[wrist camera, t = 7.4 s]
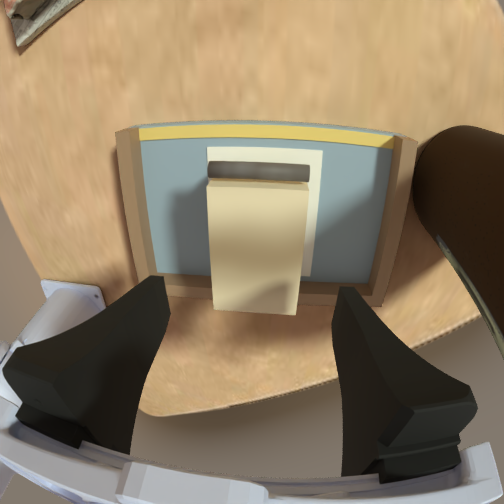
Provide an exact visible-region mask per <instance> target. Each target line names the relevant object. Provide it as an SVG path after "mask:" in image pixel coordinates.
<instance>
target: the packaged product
mask: <svg viewBox="0 0 504 504" xmlns="http://www.w3.org/2000/svg"><path fill="white" fill-rule="evenodd" d="M80 1H82V0H4V5H5V10H6V13H7V16H8V17H9V18H10V19H11V23H12V26H13V32H14V34H15V38H16V44H17V46H18V47H19V46H23V45H27V44H28V43H30V42H31V41H32V40H33V39H34V38H35V37H36V36H38V35H39V34H40V33H41V32H42V31H43V30H44V29H46V28H47V27H48V26H49V25H50V24H52V23H53V22H54V21H55V20H56V19H58V18H59V17H60V16H62V15H63V14H64V13H66V12H67V11H68V10H70V9H71V8H72V7H74V6H75V5H76V4H78V3H79V2H80Z"/></svg>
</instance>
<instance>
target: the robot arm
mask: <svg viewBox="0 0 504 504" xmlns="http://www.w3.org/2000/svg"><path fill="white" fill-rule="evenodd" d="M41 286H42V288H43V291H44V293H45V296H46V298H47V301H46V302H45V303H44V304H43V305H42V306H41V308H40V309H39V310H38V311H37V313H36V314H35V315H34V316H33V318H32V319H31V320H30V321H29V323H28V324H27V325H26V326H25V328H24V329H23V330H22V331H21V333H20V334H19V335H18V337H17V338H16V339H15V341H14V342H13V343H12V344H11V345H9V344H8V342H7V341H3V342H2V341H0V500H1V498H2V496H3V494H4V492H5V490H6V488H7V486H8V484H9V482H10V480H11V479H12V477H13V475H14V474H20V475H22V476H24V477H25V478H27V479H29V480H30V481H32V482H34V483H36V484H37V485H39V486H41V487H43V488H44V489H46V490H48V491H50V492H52V493H54V494H55V495H58V496H59V497H61V498H63V499H65V500H68V501H69V502H71V503H74V504H489V503H491V502H492V501H494V500H496V499H497V498H499V497H500V496H502V495H503V491H502V487H501V483H500V478H499V475H498V471H497V467H496V463H495V460H494V456H493V453H492V449H491V446H490V443H489V442H484V443H481V444H477V445H474V446H470V447H468V448H465V449H463V450H461V451H458V447H457V445H458V444H459V443H460V441H461V440H460V437H459V433H460V432H461V431H462V430H463V429H464V428H465V427H466V425H467V424H468V423H469V422H470V421H471V420H472V419H473V417H474V416H475V414H476V412H477V409H478V407H477V404H476V401H475V398H474V396H473V393H472V391H471V388H470V386H469V385H467V384H465V383H463V382H461V381H459V380H457V379H455V378H452V377H451V376H448V375H447V374H445V373H444V372H442V371H440V370H439V369H437V368H436V367H434V366H433V365H431V364H430V363H428V362H427V361H425V360H424V359H422V358H421V357H420V356H419V355H417V354H416V353H415V352H414V351H412V350H411V349H410V348H409V347H408V346H407V345H405V344H404V343H403V342H402V341H401V340H400V339H399V338H398V337H397V336H396V335H395V334H394V333H393V332H392V331H391V330H390V329H389V328H388V327H387V326H386V325H385V324H384V323H383V322H382V321H381V319H380V318H379V317H378V316H377V315H376V314H375V312H374V311H373V310H372V309H371V307H370V306H369V305H368V304H367V302H366V301H365V300H364V299H363V297H362V296H361V295H360V294H359V292H358V291H357V290H356V289H355V287H345V286H339V291H338V296H337V301H336V306H335V310H334V315H333V319H332V324H331V325H332V341H333V349H334V355H335V360H336V366H337V371H338V376H339V382H340V388H341V395H342V410H343V411H342V412H343V455H342V473H341V477H332V478H267V477H252V476H239V475H229V474H221V473H214V472H207V471H200V470H194V469H187V468H183V467H177V466H172V465H167V464H163V463H158V462H154V461H149V460H146V459H142V458H138V457H134V456H130V447H131V441H132V434H133V429H134V423H135V418H136V414H137V409H138V405H139V401H140V397H141V394H142V390H143V386H144V383H145V380H146V377H147V374H148V372H149V370H150V367H151V365H152V363H153V360H154V358H155V356H156V353H157V351H158V349H159V346H160V344H161V342H162V339H163V337H164V335H165V332H166V328H167V325H168V321H169V317H170V314H171V313H170V308H169V303H168V298H167V292H166V287H165V281H164V276H155V275H150V276H148V277H147V278H146V279H144V280H143V281H141V282H140V283H139V284H138V285H136V286H135V287H134V288H132V289H131V290H130V291H128V292H127V293H126V294H125V295H123V296H122V297H121V298H119V299H118V300H117V301H115V302H114V303H112V304H111V305H109V306H108V307H107V308H106V305H105V302H104V299H103V296H102V293H101V290H100V288H99V287H97V286H92V285H84V284H76V283H69V282H61V281H54V280H47V279H43V280H42V281H41ZM97 295H98V296H97Z"/></svg>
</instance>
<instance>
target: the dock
mask: <svg viewBox="0 0 504 504" xmlns="http://www.w3.org/2000/svg"><path fill="white" fill-rule="evenodd" d="M115 136H116V147H117V156H118V165H119V173H120V181H121V188H122V195H123V202H124V208H125V215H126V221H127V226H128V232H129V237H130V243H131V248H132V253H133V258H134V263H135V268H136V272H137V277H138V281H139V283H140V282H141V281H143V280H144V279H146V278H147V277H148V276H150V275H155V276H164V281H165V287H166V292H167V296H176V297H188V298H200V299H213V292H212V278H211V263H210V247H209V229H208V209H207V185H208V184H209V182H210V181H211V180H212V178H209V177H208V163H209V161H246V162H272V163H291V164H306V165H310V179H309V182H307V184H308V188H309V200H308V211H307V222H306V232H305V241H304V251H303V260H302V268H301V277H300V285H299V293H298V301H297V305H321V306H336V301H337V296H338V291H339V286H345V287H355V289H356V290H357V291H358V292H359V294H360V295H361V296H362V297H363V299H364V300H365V301H366V302H367V304H368V305H369V306H370V307H382V304H383V300H384V297H385V294H386V290H387V287H388V283H389V280H390V276H391V273H392V269H393V265H394V262H395V258H396V254H397V250H398V246H399V242H400V238H401V233H402V229H403V224H404V220H405V215H406V210H407V205H408V200H409V195H410V190H411V184H412V178H413V172H414V166H415V159H416V152H417V144H418V142H417V141H415V140H413V139H411V138H409V137H406V136H404V135H402V134H399V133H393V132H386V131H379V130H372V129H365V128H357V127H348V126H339V125H328V124H316V123H302V122H285V121H254V120H218V121H187V122H170V123H156V124H144V125H135V126H132V127H129V128H126V129H123V130H120V131H117V132H115Z"/></svg>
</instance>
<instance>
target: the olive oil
mask: <svg viewBox="0 0 504 504" xmlns="http://www.w3.org/2000/svg"><path fill="white" fill-rule="evenodd" d="M413 201H414V206H415V210H416V213H417V215H418V217H419V219H420V221H421V223H422V225H423V226H424V227H425V229H426V230H427V231H428V233H429V234H430V235H431V237H432V238H433V239H434V241H435V242H436V243H437V245H438V246H439V247H440V249H441V251H442V252H443V253H444V255H445V256H446V258H447V259H448V261H449V262H450V263H451V265H452V266H453V268H454V270H455V271H456V273H457V274H458V276H459V277H460V279H461V281H462V282H463V284H464V285H465V287H466V289H467V290H468V292H469V294H470V295H471V297H472V299H473V300H474V302H475V304H476V306H477V307H478V309H479V311H480V313H481V315H482V316H483V318H484V320H485V322H486V324H487V326H488V328H489V330H490V332H491V334H492V336H493V338H494V340H495V342H496V344H497V346H498V348H499V350H500V352H501V354H502V357H503V359H504V135H502V134H498V133H495V132H492V131H489V130H485V129H482V128H478V127H474V126H467V125H463V126H455V127H452V128H449V129H447V130H445V131H443V132H442V133H440V134H439V135H437V136H436V137H435V138H434V139H433V140H432V141H431V142H430V143H429V144H428V146H427V147H426V148H425V150H424V152H423V153H422V155H421V157H420V159H419V161H418V164H417V167H416V170H415V174H414V180H413Z"/></svg>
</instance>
